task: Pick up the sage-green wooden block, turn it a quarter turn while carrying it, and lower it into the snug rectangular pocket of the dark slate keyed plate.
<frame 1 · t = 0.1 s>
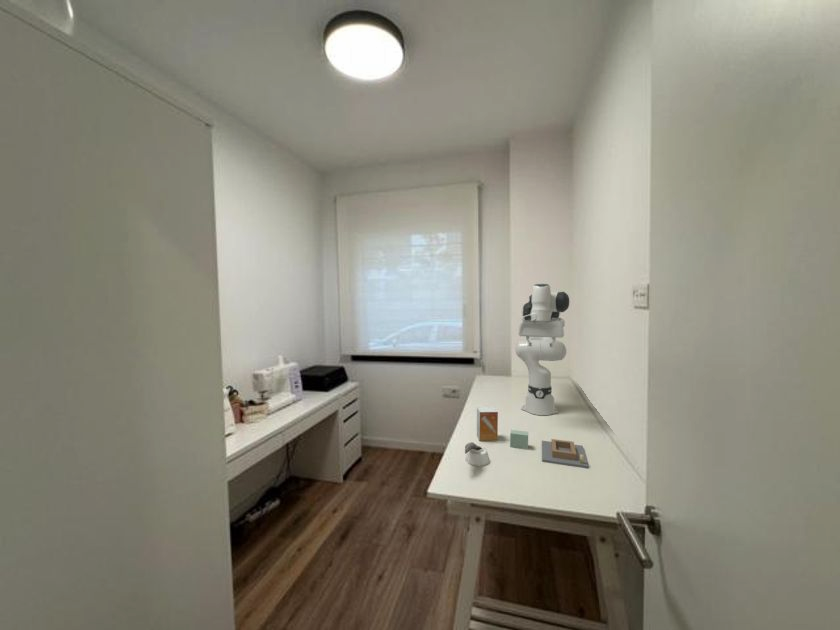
hand: (540, 346, 163), 39 cm above the table, tool pointing down, fingers open, 8 cm apart
small box: (486, 438, 153), on the table
keyed plate: (563, 454, 137), on the table
sage block: (519, 446, 144), on the table
inkwell: (474, 466, 129), on the table
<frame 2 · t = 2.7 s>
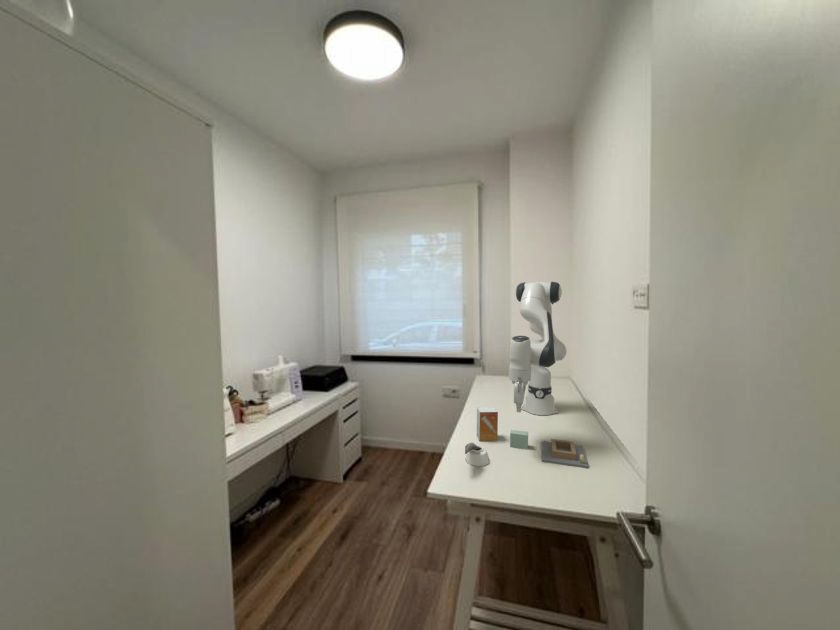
hand: (519, 408, 143), 16 cm above the table, tool pointing down, fingers open, 8 cm apart
nothing on the table moved.
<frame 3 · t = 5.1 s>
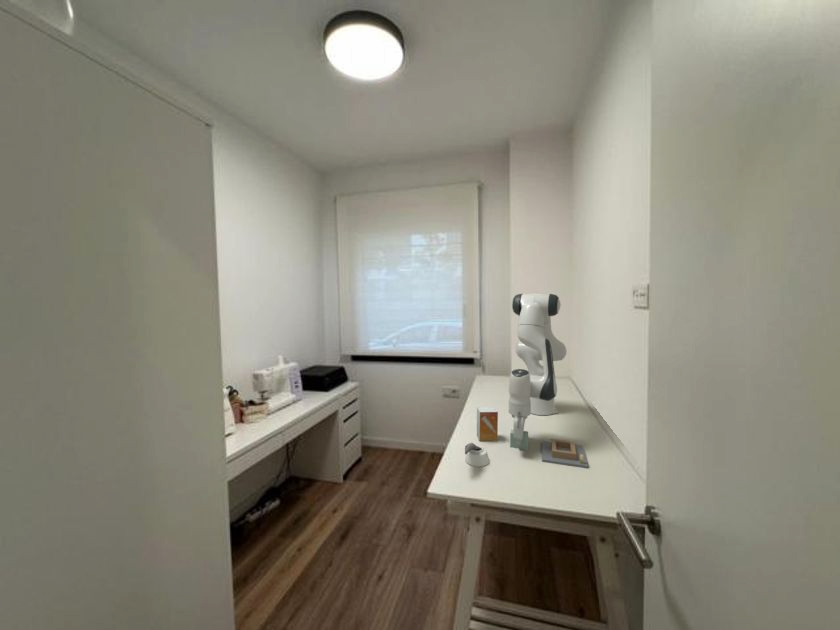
hand: (519, 441, 144), 2 cm above the table, tool pointing down, fingers closed on sage block, 4 cm apart
sage block: (519, 446, 144), on the table, touching gripper
everything else where it was.
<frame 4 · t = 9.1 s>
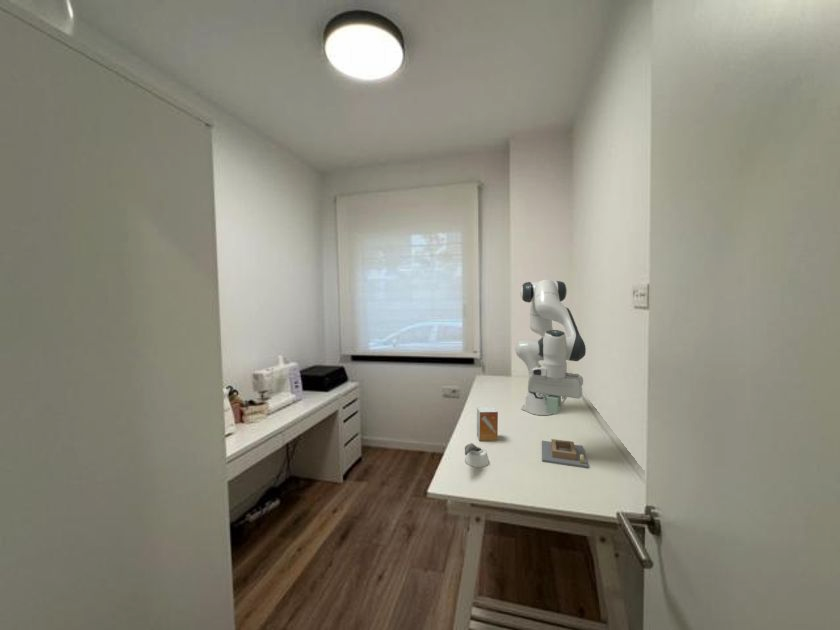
hand: (554, 405, 137), 19 cm above the table, tool pointing down, fingers closed on sage block, 4 cm apart
sage block: (553, 410, 137), point 17 cm above the table, touching gripper
when the fingers open (4 cm above the table, at t = 13.5 s): sage block drops 1 cm, resting on keyed plate.
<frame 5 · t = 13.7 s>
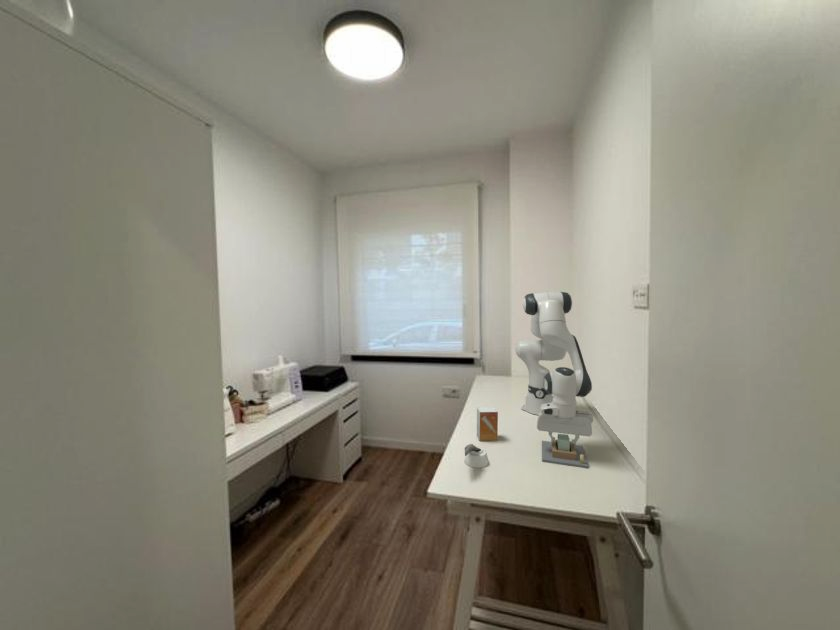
hand: (563, 443, 137), 4 cm above the table, tool pointing down, fingers open, 6 cm apart
sage block: (563, 452, 137), point 1 cm above the table, touching keyed plate
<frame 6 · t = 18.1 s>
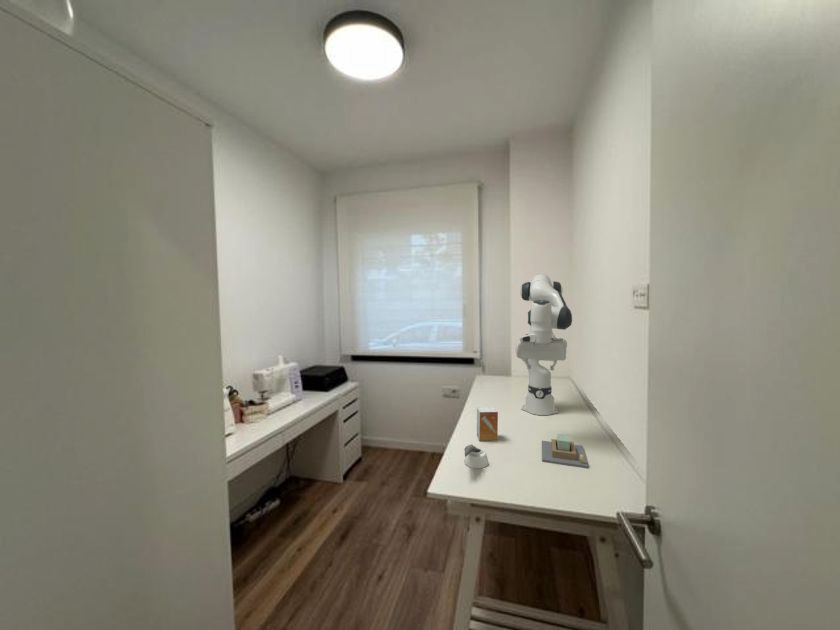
hand: (540, 369, 149), 31 cm above the table, tool pointing down, fingers open, 8 cm apart
at the end: sage block 0.0 cm off-centre on the keyed plate, point 0.8 cm above the keyed plate's base; sage block tilted 0°; the gripper is holding nothing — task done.
